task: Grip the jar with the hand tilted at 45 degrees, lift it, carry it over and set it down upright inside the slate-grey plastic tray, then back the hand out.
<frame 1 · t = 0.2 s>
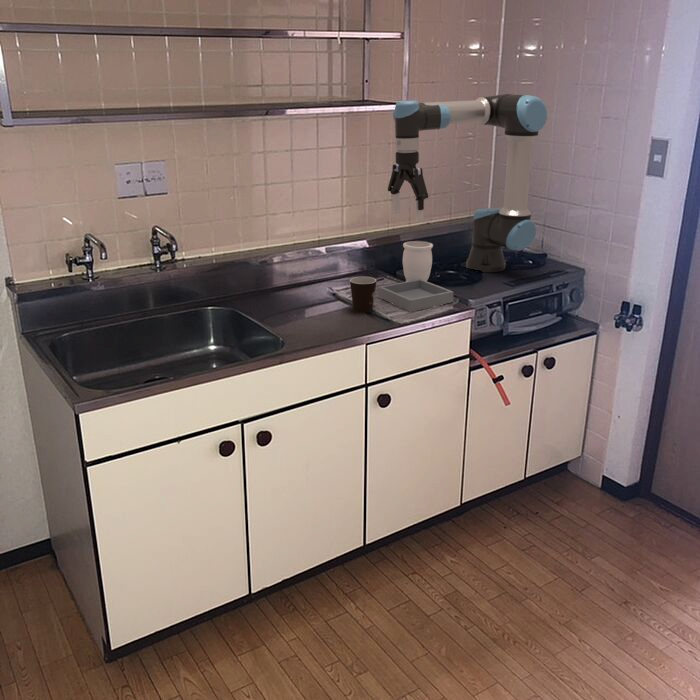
hand: (407, 216, 255), 28 cm above the worktop, tool pointing down, fingers open, 13 cm apart
jar: (416, 285, 278), on the worktop
tray: (415, 300, 260), on the worktop
coffee mug: (365, 309, 252), on the worktop
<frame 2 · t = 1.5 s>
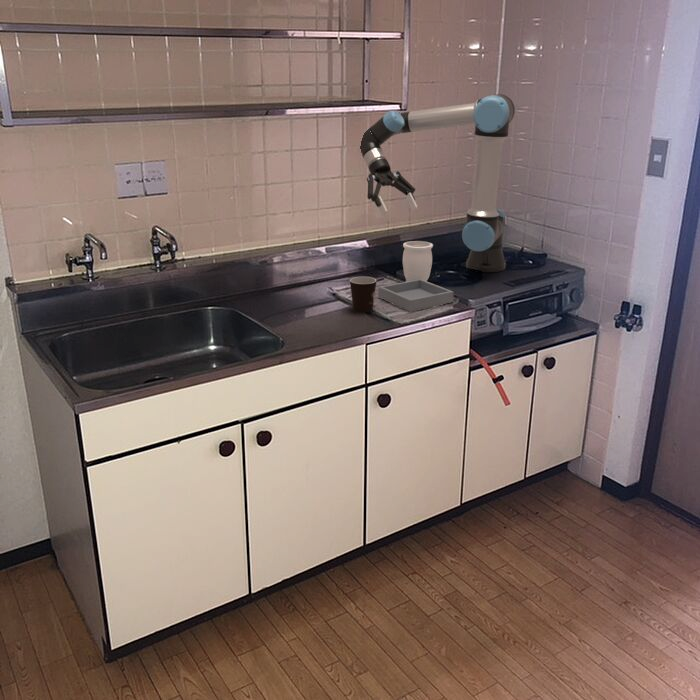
hand: (400, 211, 277), 25 cm above the worktop, tool tilted 45°, fingers open, 13 cm apart
nothing on the worktop moved.
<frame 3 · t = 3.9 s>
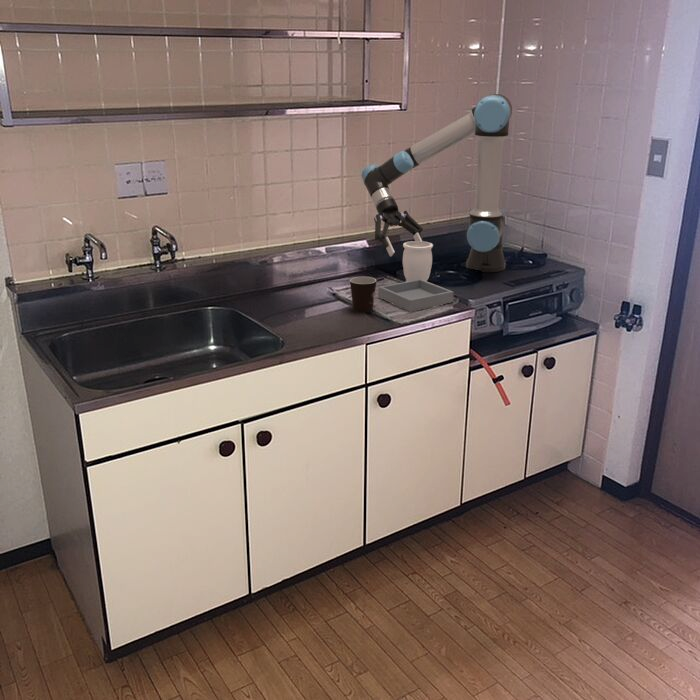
hand: (407, 251, 277), 11 cm above the worktop, tool tilted 45°, fingers open, 13 cm apart
nothing on the worktop moved.
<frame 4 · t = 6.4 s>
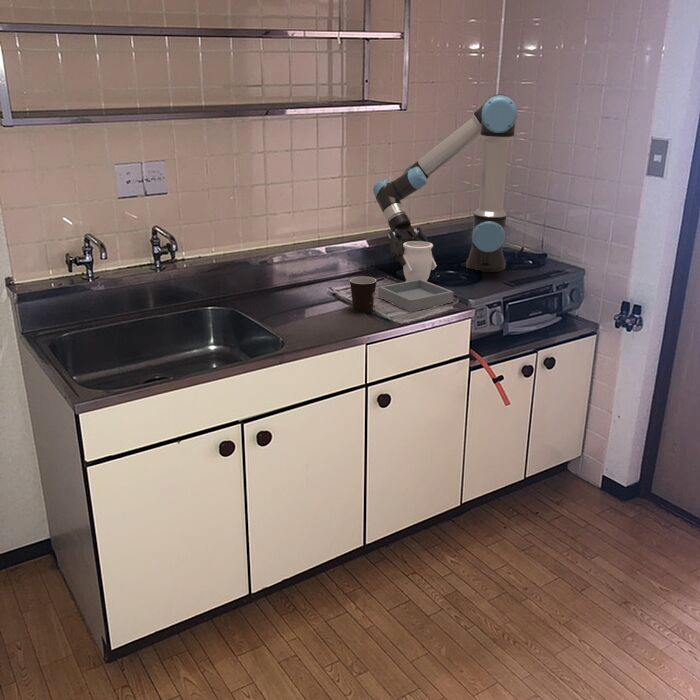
hand: (422, 270, 274), 6 cm above the worktop, tool tilted 45°, fingers closed on jar, 10 cm apart
jar: (416, 285, 278), on the worktop, touching gripper
everything else where it was.
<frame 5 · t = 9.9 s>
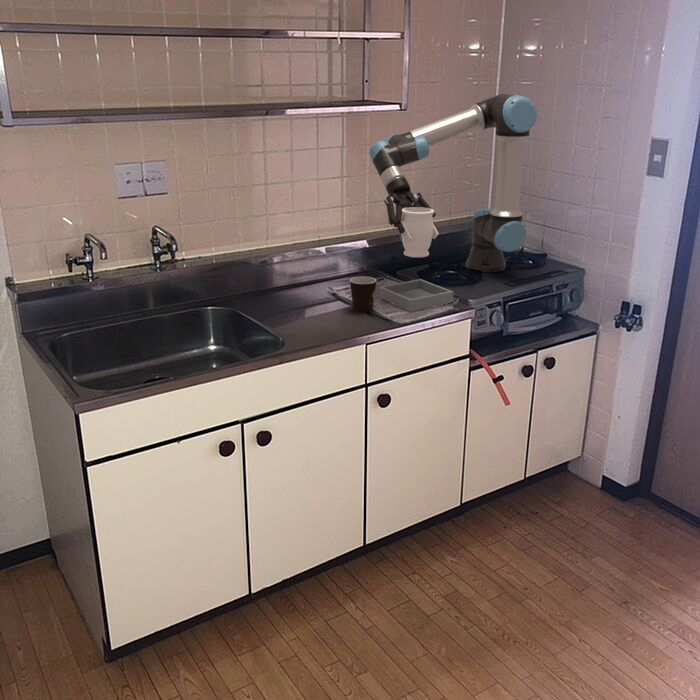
hand: (422, 238, 250), 22 cm above the worktop, tool tilted 45°, fingers closed on jar, 10 cm apart
jar: (416, 255, 255), point 16 cm above the worktop, touching gripper
everything else where it was.
when the fingers open (8 cm above the worktop, at t = 13.3 s): jar drops 1 cm, resting on tray.
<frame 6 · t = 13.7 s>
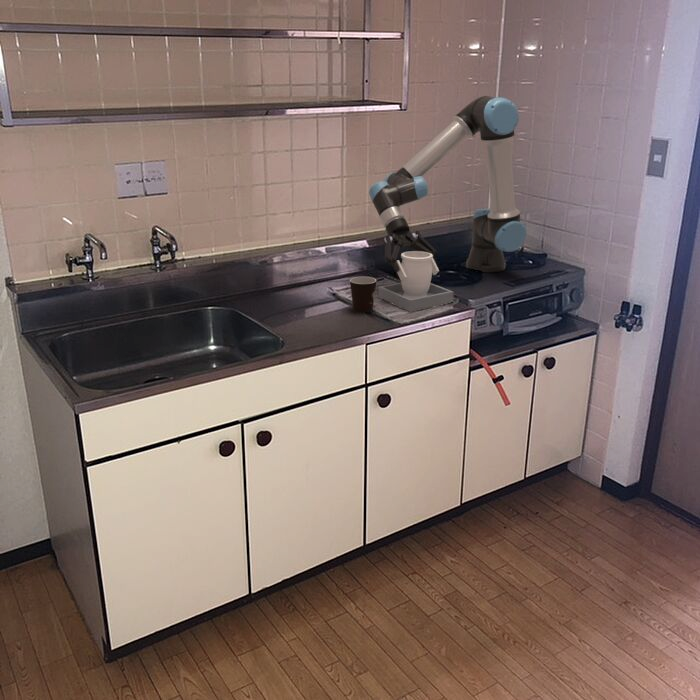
hand: (420, 276, 255), 9 cm above the worktop, tool tilted 45°, fingers open, 13 cm apart
jar: (415, 298, 260), point 1 cm above the worktop, touching tray
everything else where it was.
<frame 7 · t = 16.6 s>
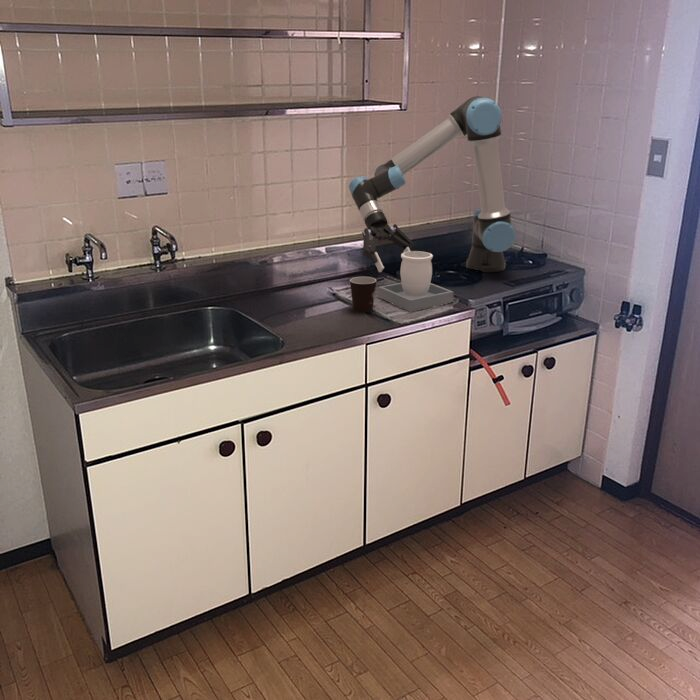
hand: (397, 267, 265), 9 cm above the worktop, tool tilted 45°, fingers open, 13 cm apart
nothing on the worktop moved.
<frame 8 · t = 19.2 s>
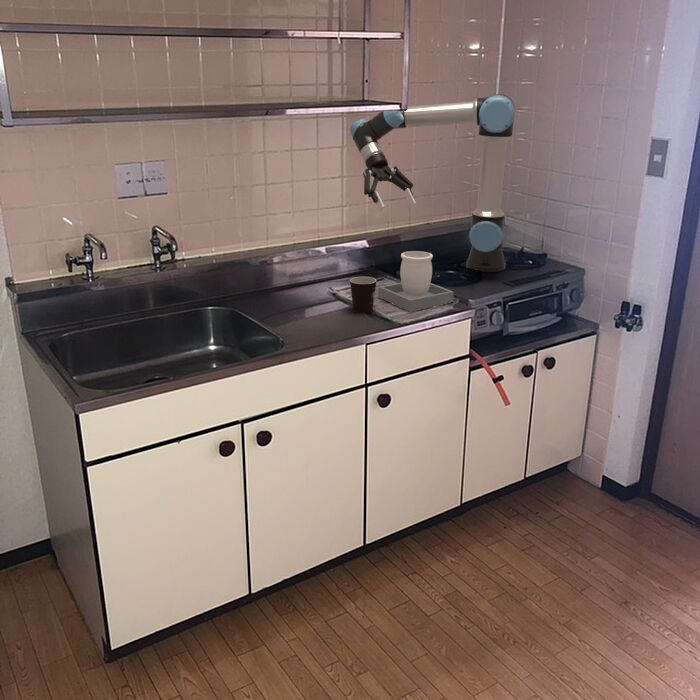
hand: (398, 207, 270), 28 cm above the worktop, tool tilted 45°, fingers open, 13 cm apart
nothing on the worktop moved.
at the end: jar inside the target area on the tray (0.1 cm from its centre), point 0.8 cm above the tray's base; jar tilted 0°; the gripper is holding nothing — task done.
